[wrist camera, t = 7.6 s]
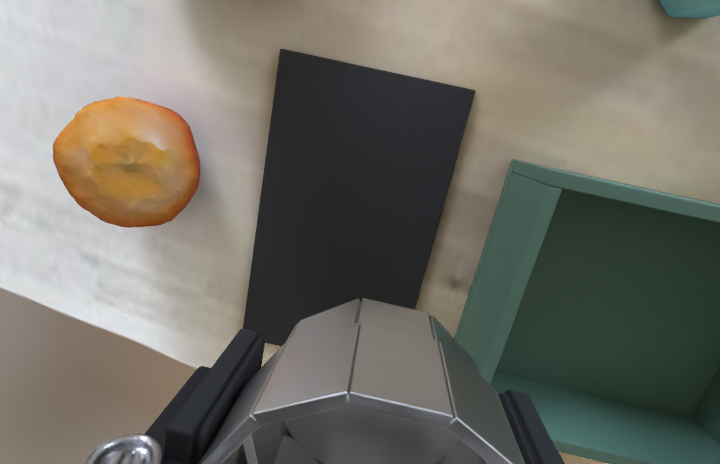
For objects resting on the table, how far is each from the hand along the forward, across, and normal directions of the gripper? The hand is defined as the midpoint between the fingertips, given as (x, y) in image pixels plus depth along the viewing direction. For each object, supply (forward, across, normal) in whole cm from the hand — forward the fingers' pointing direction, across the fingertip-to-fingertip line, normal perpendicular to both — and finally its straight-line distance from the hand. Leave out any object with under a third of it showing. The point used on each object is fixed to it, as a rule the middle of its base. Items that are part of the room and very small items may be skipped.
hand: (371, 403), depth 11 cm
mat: (+17, +3, 0) cm, 18 cm away
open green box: (+17, -17, +1) cm, 24 cm away
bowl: (0, 0, 0) cm, 0 cm away
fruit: (+17, +17, -2) cm, 24 cm away
